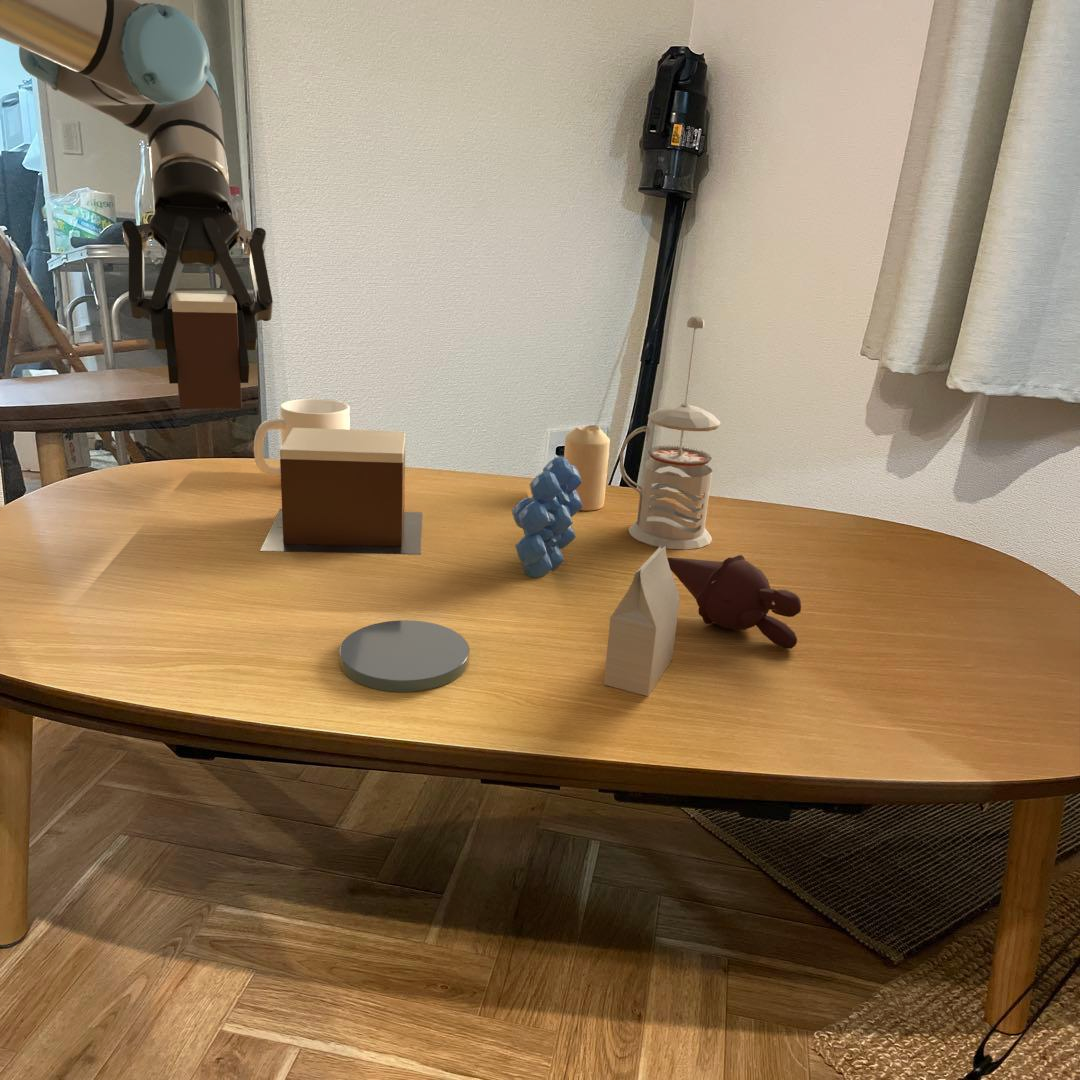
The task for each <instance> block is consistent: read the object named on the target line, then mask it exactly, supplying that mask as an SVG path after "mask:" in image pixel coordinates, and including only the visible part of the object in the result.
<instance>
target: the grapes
mask: <svg viewBox="0 0 1080 1080" xmlns="http://www.w3.org/2000/svg"><path fill="white" fill-rule="evenodd" d="M581 483H582V480H581V477H580V474H579V472H578V470H577V468H576V467H575V466H574V465H572V464H569V462H568V460H567V459H565V458H564V456H556V457H553V459H551V460H550V461H549V462H548V463H547V464H546V465H545V466H544V467H543V469H542V471H541V472H540V473H539V474H537V475H536V476H535V477H534V478H533V480H532V481H531V482H530V483H529V490H530V492H531V495H532V496H531V497H530V496H529V497H523V498H522V499H521V500H519V502H517V503H516V505H515V506H514V507H513V508H512V509H511V513H512V517H513V521H514V523H515V524H516V526H517V527H518V528H520V529H522V531H523V535H524V536H523V537H521V538H520V540H519V541H518V542H516V544H515V545H514V546H515V550H516V551H515V552H516V554H517V558H518V559H519V560H520V562H521V564H522V568H523V571H524V573H525V575H526V576H527V577H529V578H542V577H544V576H546V575H548V574H549V572H551V573H553V572H554V571H556V570H557V569H559V567H560V566H561V565H562V564H563V563H564V562H565V560H564V556H563V553H562V549H565V548H566V547H568V546H569V544H571V543H572V542H573V541H574V540H575V539H576V533H575V529H574V527H573V519H572V517H574V516H575V515H576V514H577V513H578V512H579V511H581V510H580V509H581V508H582V507H583V506H582V502H581V499H580V496H579V495H578V493H577V491H575V489H576V488H577V487H578V486H579V485H580V484H581Z"/></svg>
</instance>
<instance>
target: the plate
mask: <svg viewBox="0 0 1080 1080" xmlns="http://www.w3.org/2000/svg"><path fill="white" fill-rule="evenodd" d="M338 654H339V655H338V656H339V667H340V668H341V670H342V672H343V673H344V675H346V676H347V677H348V678H349V679H350V680H352V681H353V682H355V683H357V684H359V685H361V686H364V687H367V688H370V689H374V690H379V691H383V692H391V693H392V692H394V693H411V692H422V691H427V690H432V689H436V688H440V687H442V686H446V685H448V684H449V683H452V682H454V681H455V680H457V679H458V678H460V677H461V676H462V675H463V674H464V673H465V672H466V670H467V669H468V666H469V664H470V645H469V643H468V642H467V640H466V639H465V637H464V636H462V635H461V634H460V633H458V632H457V631H455V630H453V629H451V628H449V627H447V626H444V625H441V624H438V623H434V622H429V621H423V620H412V619H411V620H410V619H408V620H406V619H405V620H401V619H400V620H389V621H383V622H378V623H373V624H370V625H366V626H364V627H361V628H359V629H357V630H354V631H353V632H351V633H350V634H349V635H347V636H346V637H345V638H344V639H343V640H342V642H341V644H340V646H339V653H338Z"/></svg>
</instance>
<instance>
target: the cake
mask: <svg viewBox="0 0 1080 1080" xmlns="http://www.w3.org/2000/svg"><path fill="white" fill-rule="evenodd" d="M279 467H280V471H281V477H280V493H281V494H280V495H281V509H282V523H283V544H311V545H360V546H402V538H403V527H404V512H405V498H406V497H405V496H406V495H405V494H406V431H400V430H398V431H397V430H373V429H372V430H371V429H370V430H369V429H350V430H346V429H318V428H293V429H292V430H291V432H290V434H289V435H288V437H287V439H286V440H285V442H284V444H283V445H282V444H281V447H280V448H279Z"/></svg>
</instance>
